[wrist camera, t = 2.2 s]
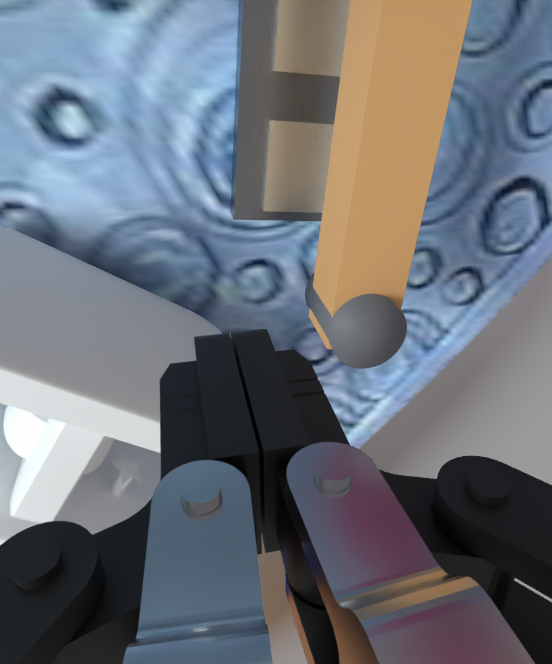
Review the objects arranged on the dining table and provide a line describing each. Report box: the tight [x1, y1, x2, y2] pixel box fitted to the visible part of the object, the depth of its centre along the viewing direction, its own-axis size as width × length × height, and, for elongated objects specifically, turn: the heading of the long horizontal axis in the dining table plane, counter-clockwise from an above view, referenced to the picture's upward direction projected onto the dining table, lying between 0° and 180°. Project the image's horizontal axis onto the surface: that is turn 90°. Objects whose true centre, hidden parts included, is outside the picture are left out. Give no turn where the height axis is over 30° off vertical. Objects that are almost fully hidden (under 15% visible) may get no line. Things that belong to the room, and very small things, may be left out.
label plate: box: [231, 0, 350, 221], centre depth 25 cm, size 12×9×2 cm
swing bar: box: [305, 0, 473, 368], centre depth 19 cm, size 16×3×4 cm, turn 175°
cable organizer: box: [0, 225, 222, 545], centre depth 24 cm, size 15×11×12 cm
